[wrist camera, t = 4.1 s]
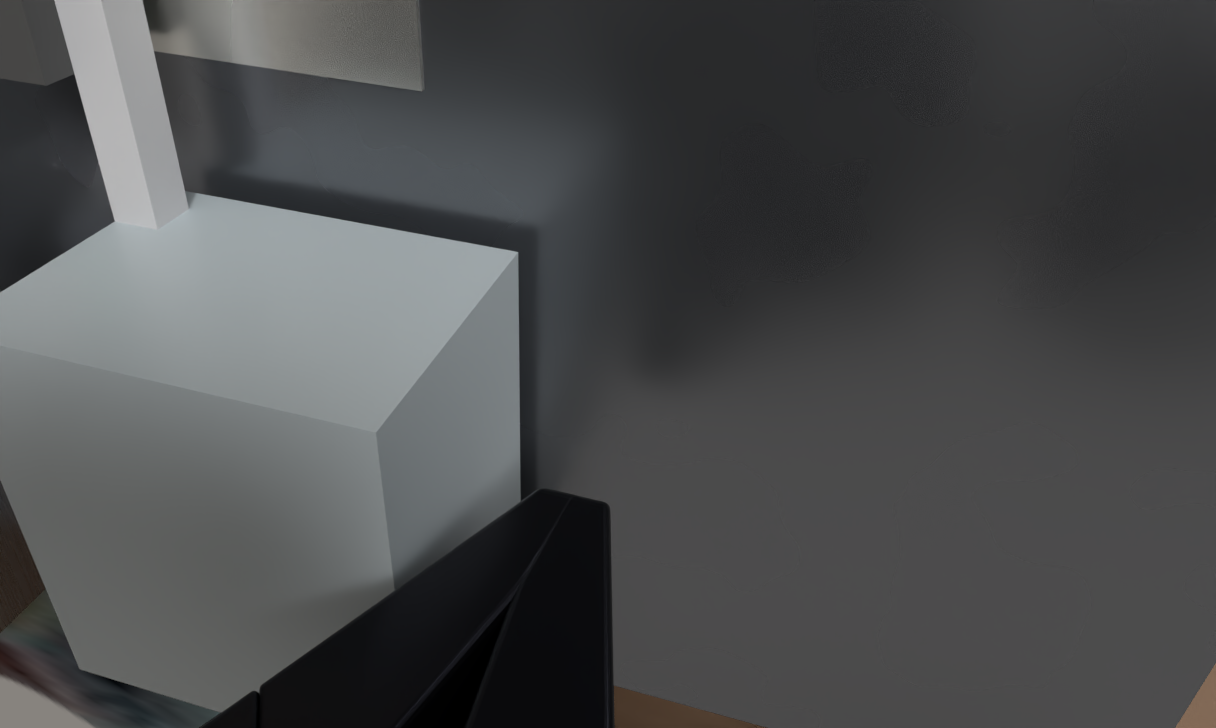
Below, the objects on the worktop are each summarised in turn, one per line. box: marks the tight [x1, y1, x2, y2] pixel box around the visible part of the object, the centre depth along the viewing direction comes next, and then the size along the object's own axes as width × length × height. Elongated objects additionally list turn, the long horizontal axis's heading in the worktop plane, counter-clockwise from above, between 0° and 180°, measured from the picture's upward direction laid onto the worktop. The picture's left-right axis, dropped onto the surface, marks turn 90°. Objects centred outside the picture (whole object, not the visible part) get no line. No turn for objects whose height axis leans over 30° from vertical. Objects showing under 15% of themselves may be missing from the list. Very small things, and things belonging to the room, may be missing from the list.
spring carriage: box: [0, 0, 521, 713], centre depth 9 cm, size 4×7×3 cm, turn 178°
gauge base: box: [0, 0, 1216, 728], centre depth 10 cm, size 17×10×5 cm, turn 88°
